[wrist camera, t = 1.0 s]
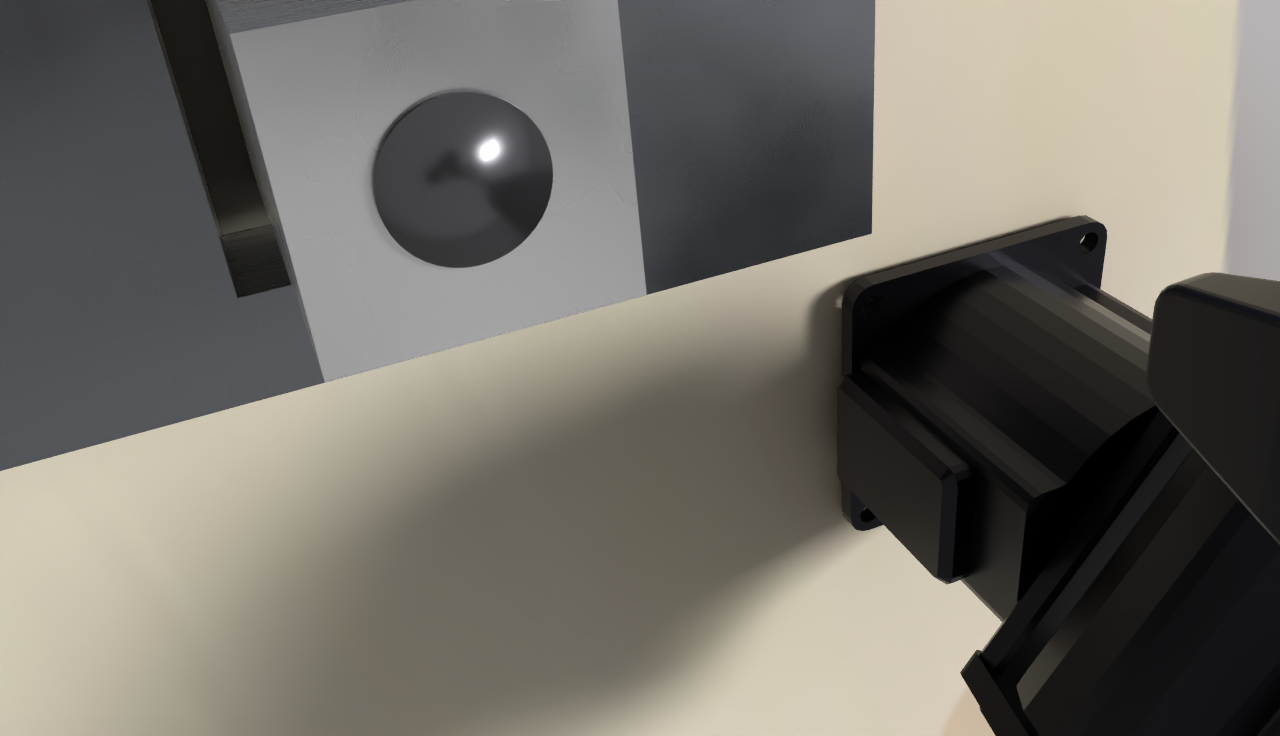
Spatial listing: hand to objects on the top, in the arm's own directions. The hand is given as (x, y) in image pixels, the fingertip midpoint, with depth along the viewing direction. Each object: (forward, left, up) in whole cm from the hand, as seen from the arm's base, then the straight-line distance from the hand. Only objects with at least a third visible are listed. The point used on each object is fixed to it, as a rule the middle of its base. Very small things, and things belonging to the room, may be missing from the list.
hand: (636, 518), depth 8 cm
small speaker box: (0, 0, -13) cm, 13 cm away
